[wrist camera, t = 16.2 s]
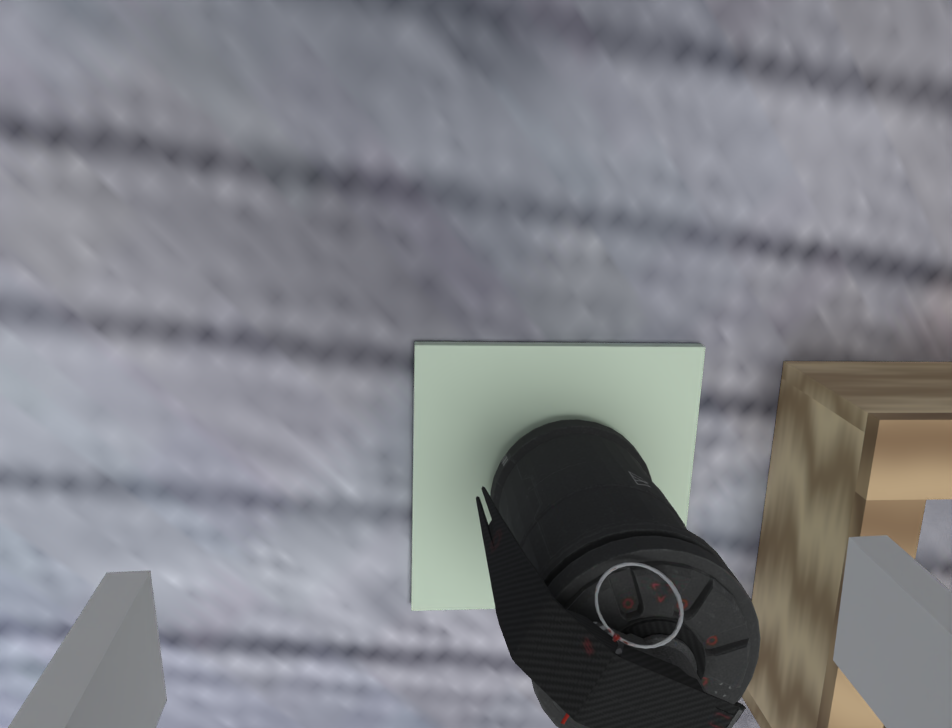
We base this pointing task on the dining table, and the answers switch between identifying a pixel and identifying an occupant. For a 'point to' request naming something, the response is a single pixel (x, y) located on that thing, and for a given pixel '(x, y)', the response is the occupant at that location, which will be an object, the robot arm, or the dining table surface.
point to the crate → (838, 518)
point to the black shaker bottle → (611, 588)
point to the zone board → (517, 413)
